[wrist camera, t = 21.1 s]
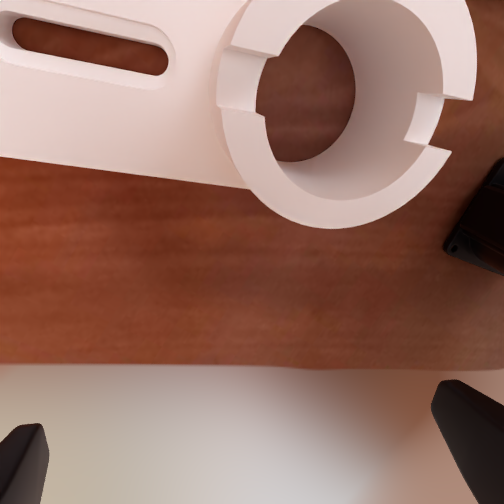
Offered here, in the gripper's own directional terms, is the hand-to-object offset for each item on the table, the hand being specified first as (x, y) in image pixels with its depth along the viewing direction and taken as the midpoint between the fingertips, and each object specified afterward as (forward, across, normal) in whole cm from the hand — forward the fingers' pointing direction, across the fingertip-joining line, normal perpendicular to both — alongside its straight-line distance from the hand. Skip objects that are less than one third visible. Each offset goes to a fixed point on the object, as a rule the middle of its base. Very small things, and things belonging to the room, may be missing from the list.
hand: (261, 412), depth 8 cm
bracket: (+13, +2, -7) cm, 15 cm away
